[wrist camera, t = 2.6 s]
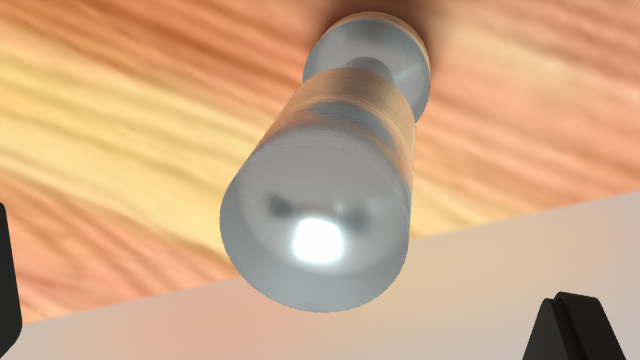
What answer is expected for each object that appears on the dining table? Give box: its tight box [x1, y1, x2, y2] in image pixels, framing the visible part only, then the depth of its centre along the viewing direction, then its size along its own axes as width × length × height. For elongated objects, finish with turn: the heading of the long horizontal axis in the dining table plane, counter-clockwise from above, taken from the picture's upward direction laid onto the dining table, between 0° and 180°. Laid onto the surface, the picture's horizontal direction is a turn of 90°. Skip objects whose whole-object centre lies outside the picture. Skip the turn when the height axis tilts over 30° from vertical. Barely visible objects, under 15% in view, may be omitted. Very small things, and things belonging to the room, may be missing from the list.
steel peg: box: [220, 11, 430, 313], centre depth 18 cm, size 5×5×13 cm
